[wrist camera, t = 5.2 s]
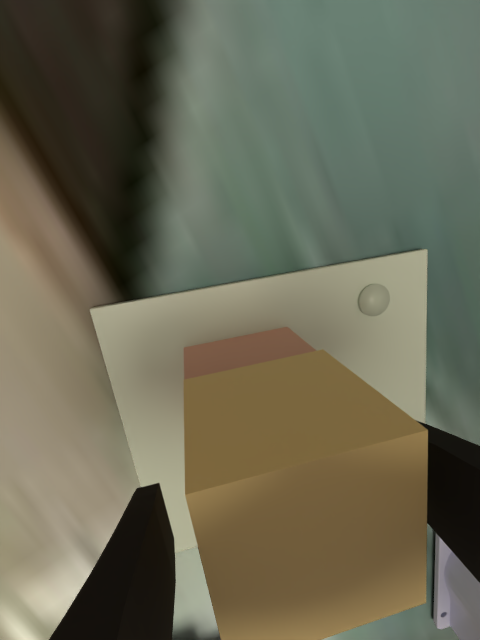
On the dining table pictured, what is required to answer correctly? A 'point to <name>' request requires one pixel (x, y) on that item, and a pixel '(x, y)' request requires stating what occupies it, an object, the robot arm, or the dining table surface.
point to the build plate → (253, 317)
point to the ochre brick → (304, 498)
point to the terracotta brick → (242, 351)
